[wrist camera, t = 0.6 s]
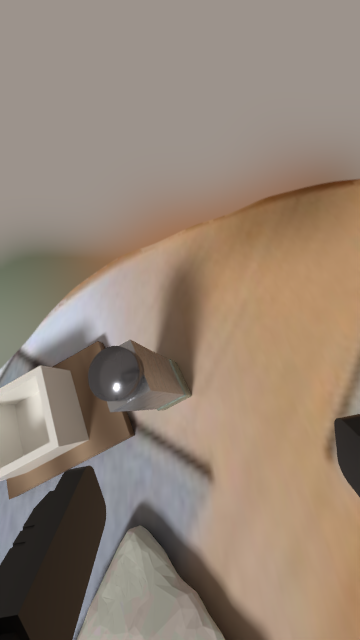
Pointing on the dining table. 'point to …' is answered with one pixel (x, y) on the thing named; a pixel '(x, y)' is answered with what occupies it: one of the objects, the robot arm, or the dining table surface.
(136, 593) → the stone
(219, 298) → the dining table surface
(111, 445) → the board
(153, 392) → the capped metal post
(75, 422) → the holder
